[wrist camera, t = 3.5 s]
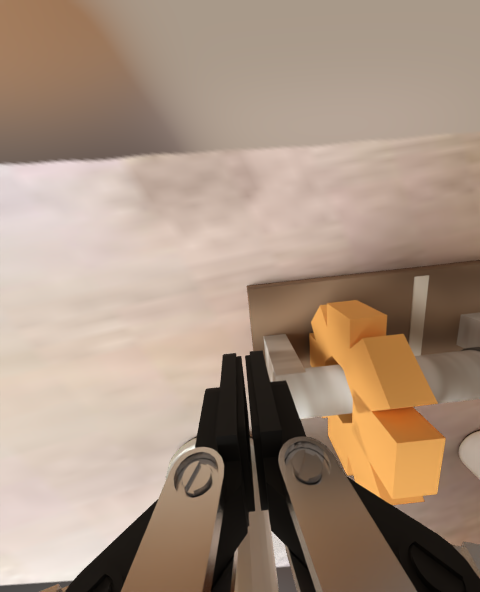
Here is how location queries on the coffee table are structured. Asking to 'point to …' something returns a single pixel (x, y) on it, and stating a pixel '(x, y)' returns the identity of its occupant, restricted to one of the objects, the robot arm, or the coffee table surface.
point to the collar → (378, 404)
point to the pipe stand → (400, 320)
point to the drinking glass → (471, 453)
